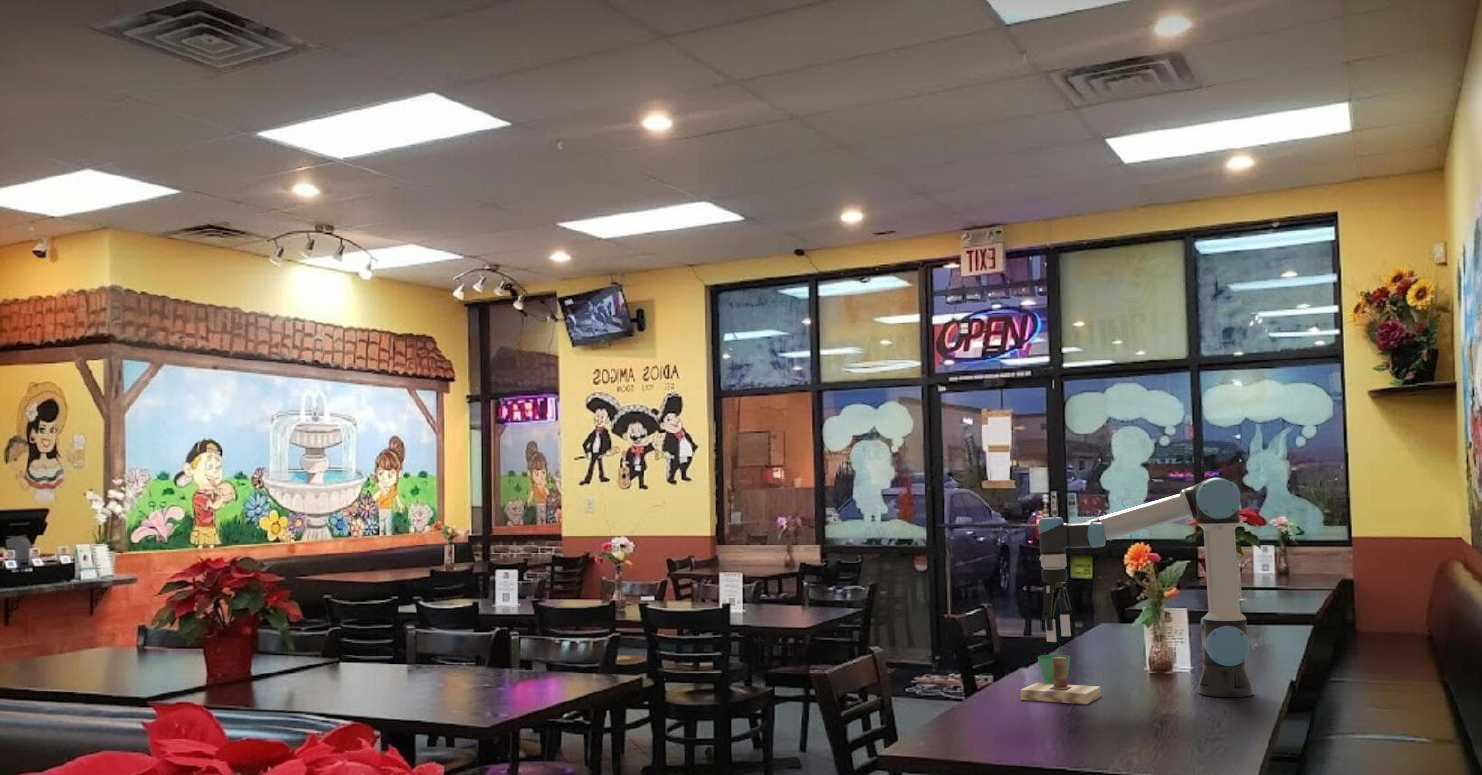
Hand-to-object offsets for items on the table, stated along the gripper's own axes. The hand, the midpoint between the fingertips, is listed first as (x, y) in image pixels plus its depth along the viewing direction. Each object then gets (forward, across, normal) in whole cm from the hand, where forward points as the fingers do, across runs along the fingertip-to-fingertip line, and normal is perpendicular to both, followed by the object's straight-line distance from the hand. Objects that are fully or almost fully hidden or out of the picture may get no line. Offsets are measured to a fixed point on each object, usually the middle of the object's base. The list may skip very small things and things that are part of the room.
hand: (1059, 638), depth 364 cm
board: (+18, 0, -1) cm, 18 cm away
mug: (+18, -18, -8) cm, 26 cm away
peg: (+18, 0, -1) cm, 18 cm away
